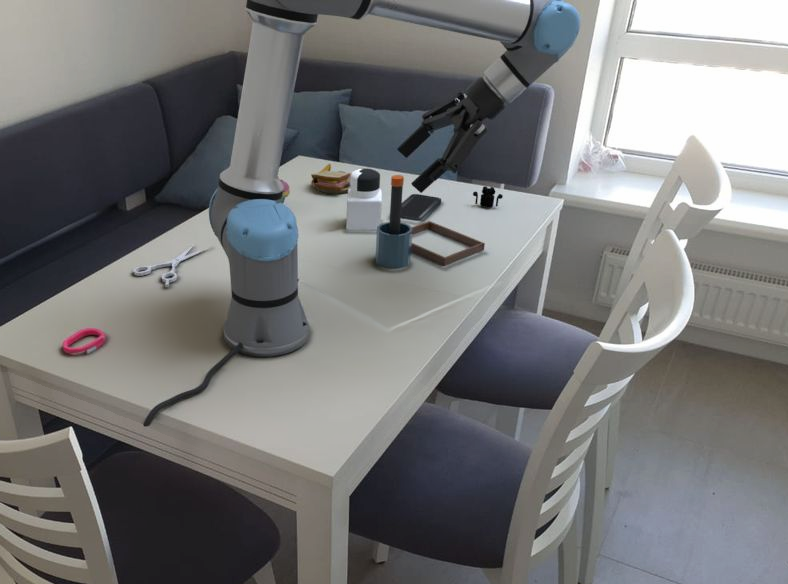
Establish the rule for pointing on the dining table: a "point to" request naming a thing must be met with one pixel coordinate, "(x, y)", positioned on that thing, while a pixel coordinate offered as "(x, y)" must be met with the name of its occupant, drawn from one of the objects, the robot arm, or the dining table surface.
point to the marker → (396, 204)
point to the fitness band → (88, 347)
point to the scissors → (170, 263)
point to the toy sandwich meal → (331, 181)
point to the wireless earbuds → (487, 197)
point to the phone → (419, 207)
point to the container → (364, 200)
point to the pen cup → (393, 246)
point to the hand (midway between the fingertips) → (408, 170)
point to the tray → (475, 244)
